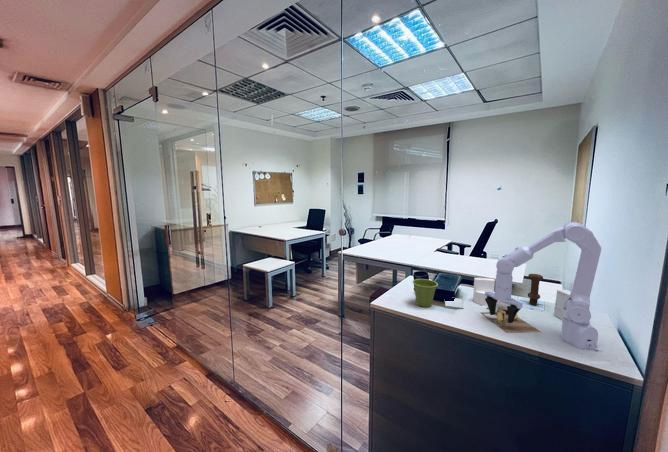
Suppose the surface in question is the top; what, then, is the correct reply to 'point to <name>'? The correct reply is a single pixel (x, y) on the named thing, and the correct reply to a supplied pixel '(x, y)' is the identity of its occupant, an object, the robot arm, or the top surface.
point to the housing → (501, 306)
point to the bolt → (534, 288)
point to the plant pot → (424, 291)
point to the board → (514, 324)
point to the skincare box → (561, 303)
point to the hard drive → (454, 304)
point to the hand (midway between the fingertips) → (501, 318)
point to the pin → (501, 317)
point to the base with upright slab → (482, 289)
